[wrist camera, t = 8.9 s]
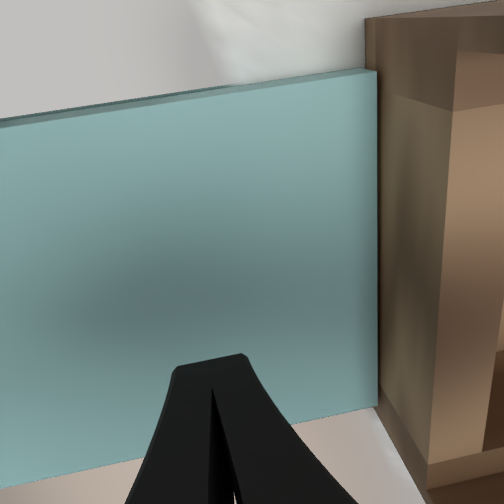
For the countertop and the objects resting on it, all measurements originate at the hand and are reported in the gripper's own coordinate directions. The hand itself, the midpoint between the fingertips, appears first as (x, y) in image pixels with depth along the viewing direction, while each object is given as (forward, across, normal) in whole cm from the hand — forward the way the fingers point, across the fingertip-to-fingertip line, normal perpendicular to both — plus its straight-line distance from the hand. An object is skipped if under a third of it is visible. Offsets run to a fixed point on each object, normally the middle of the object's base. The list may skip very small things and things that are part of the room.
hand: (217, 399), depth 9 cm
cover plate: (+6, +2, 0) cm, 6 cm away
